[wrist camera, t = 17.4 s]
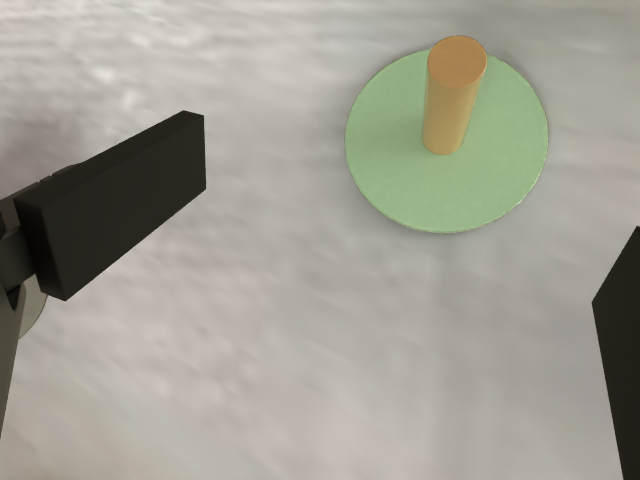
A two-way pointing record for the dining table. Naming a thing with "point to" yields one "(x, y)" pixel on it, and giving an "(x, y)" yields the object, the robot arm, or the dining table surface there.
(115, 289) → the dining table surface
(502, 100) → the lid
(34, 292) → the coffee mug
